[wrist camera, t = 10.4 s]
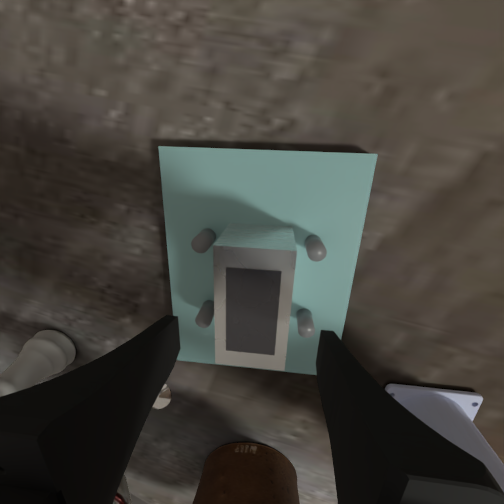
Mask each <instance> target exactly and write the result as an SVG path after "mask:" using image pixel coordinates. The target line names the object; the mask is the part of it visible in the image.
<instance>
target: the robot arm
mask: <svg viewBox="0 0 504 504" xmlns="http://www.w3.org/2000/svg"><path fill="white" fill-rule="evenodd" d="M180 349H181V348H180V335H179V322H178V316H170V315H166V316H165V317H163V318H161V319H160V320H159V321H157V322H156V323H154V324H153V325H151V326H150V327H148V328H147V329H146V330H144V331H143V332H141V333H140V334H138V335H137V336H135V337H134V338H132V339H131V340H129V341H127V342H126V343H124V344H122V345H121V346H119V347H118V348H116V349H114V350H113V351H111V352H109V353H107V354H106V355H104V356H102V357H100V358H98V359H96V360H94V361H92V362H90V363H88V364H86V365H84V366H82V367H79V368H77V369H75V370H73V371H71V372H68V373H66V374H64V375H61V376H59V377H56V378H54V379H51V380H49V381H46V382H43V383H41V384H38V385H35V386H32V387H30V388H27V389H23V390H20V391H17V392H14V393H11V394H8V395H5V396H1V397H0V504H113V501H114V499H115V496H116V493H117V490H118V488H119V485H120V483H121V480H122V477H123V475H124V472H125V469H126V467H127V464H128V462H129V459H130V457H131V454H132V452H133V449H134V447H135V444H136V442H137V439H138V437H139V435H140V432H141V430H142V428H143V425H144V423H145V421H146V418H147V416H148V414H149V412H150V410H151V408H152V406H153V405H154V403H155V401H156V399H157V397H158V395H159V393H160V392H161V390H162V388H163V386H164V384H165V382H166V380H167V379H168V377H169V375H170V373H171V371H172V369H173V367H174V364H175V362H176V359H177V357H178V354H179V351H180ZM316 372H317V381H318V387H319V392H320V396H321V401H322V405H323V410H324V414H325V419H326V423H327V428H328V432H329V438H330V443H331V450H332V458H333V465H334V473H335V482H336V490H337V499H338V504H504V464H503V463H502V461H501V460H500V459H499V457H498V456H497V455H496V453H495V452H494V450H493V449H492V448H491V446H490V445H489V444H488V442H487V441H486V440H485V438H484V437H483V435H482V434H481V433H480V431H479V430H478V429H477V427H476V426H475V425H474V423H473V422H472V421H473V419H474V417H475V415H476V413H477V411H478V409H479V407H480V405H481V403H482V401H483V398H482V396H481V395H480V394H479V393H475V392H466V391H456V390H447V389H438V388H429V387H419V386H410V385H401V384H388V385H387V386H386V388H385V389H383V388H382V387H381V386H380V385H379V384H378V383H377V382H376V381H375V380H374V379H373V378H372V377H371V376H370V374H369V373H368V372H367V371H366V370H365V369H364V368H363V367H362V366H361V364H360V363H359V362H358V361H357V360H356V359H355V357H354V356H353V355H352V354H351V353H350V351H349V350H348V349H347V347H346V346H345V345H344V344H343V342H342V341H341V340H340V338H339V337H338V336H337V334H336V333H335V332H334V331H329V330H321V332H320V338H319V345H318V351H317V357H316ZM390 393H391V394H390Z"/></svg>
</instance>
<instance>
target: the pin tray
mask: <svg viewBox="0 0 504 504" xmlns="http://www.w3.org/2000/svg"><path fill="white" fill-rule="evenodd" d="M158 148H159V159H160V171H161V182H162V194H163V205H164V217H165V228H166V240H167V251H168V262H169V274H170V285H171V297H172V308H173V316H178V322H179V335H180V348H181V349H180V351H179V354H178V357H177V360H181V361H190V362H200V363H209V364H215V322H214V272H213V245H214V243H215V242H216V241H217V239H218V238H219V237H220V235H221V234H222V233H223V232H224V230H225V229H226V228H227V226H228V225H229V224H230V223H242V224H259V225H275V226H292V227H293V232H294V238H295V243H296V248H297V257H296V266H295V276H294V285H293V295H292V304H291V314H290V323H289V333H288V342H287V352H286V361H285V371H283V372H293V373H302V374H311V375H317V372H316V357H317V351H318V345H319V338H320V332H321V330H329V331H334V332H335V333H336V334H337V336H338V337H339V338H340V340H341V338H342V333H343V328H344V323H345V318H346V313H347V307H348V302H349V297H350V292H351V287H352V282H353V277H354V272H355V267H356V262H357V257H358V252H359V246H360V241H361V236H362V231H363V226H364V221H365V216H366V211H367V206H368V201H369V196H370V191H371V185H372V180H373V175H374V170H375V165H376V160H377V155H378V154H365V153H337V152H308V151H280V150H252V149H224V148H196V147H168V146H158ZM218 365H224V364H218ZM228 366H233V365H228ZM237 367H243V366H237ZM246 368H252V367H246ZM255 369H261V368H255ZM265 370H271V369H265ZM274 371H280V370H274Z"/></svg>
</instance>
